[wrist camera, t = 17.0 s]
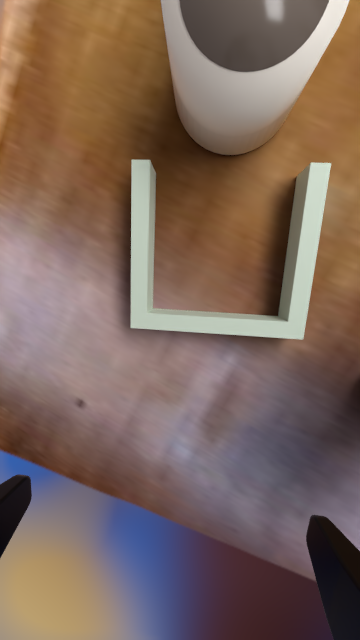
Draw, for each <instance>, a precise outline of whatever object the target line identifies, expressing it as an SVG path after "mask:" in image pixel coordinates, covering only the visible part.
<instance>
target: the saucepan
mask: <svg viewBox="0 0 360 640" xmlns="http://www.w3.org/2000/svg"><path fill="white" fill-rule="evenodd" d="M348 2H349V0H161V5H162V13H163V20H164V27H165V34H166V41H167V48H168V54H169V61H170V68H171V75H172V82H173V88H174V95H175V102H176V107H177V112H178V115H179V118H180V120H181V122H182V124H183V126H184V128H185V130H186V131H187V133H188V134H189V135H190V136H191V138H192V139H193V140H194V141H195V142H197V143H198V144H199V145H200V146H202V147H203V148H205V149H207V150H209V151H212V152H214V153H218V154H223V155H238V154H243V153H246V152H249V151H252V150H254V149H256V148H258V147H260V146H261V145H263V144H264V143H266V142H267V141H268V140H269V139H271V138H272V137H273V136H274V135H275V134H276V132H277V131H278V130H279V129H280V128H281V126H282V125H283V123H284V122H285V120H286V118H287V117H288V115H289V113H290V111H291V110H292V108H293V106H294V104H295V103H296V101H297V99H298V97H299V95H300V94H301V92H302V90H303V88H304V87H305V85H306V83H307V81H308V80H309V78H310V76H311V74H312V73H313V71H314V69H315V67H316V65H317V64H318V62H319V60H320V58H321V57H322V55H323V53H324V51H325V50H326V48H327V46H328V44H329V42H330V41H331V39H332V37H333V35H334V34H335V32H336V30H337V28H338V27H339V25H340V22H341V20H342V18H343V16H344V13H345V11H346V8H347V5H348Z"/></svg>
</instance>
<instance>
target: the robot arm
mask: <svg viewBox="0 0 360 640" xmlns="http://www.w3.org/2000/svg"><path fill="white" fill-rule="evenodd" d="M31 496H32V495H31V480H30V477H29V476H26V475H16V476H13V477H12V478H10V479H9V480H7V481H5V482H4V483H2V484H0V558H1V556H2V554H3V552H4V550H5V549H6V546H7V545H8V543H9V541H10V539H11V537H12V536H13V533H14V532H15V530H16V528H17V526H18V524H19V522H20V521H21V519H22V517H23V515H24V513H25V511H26V510H27V508H28V506H29V504H30V501H31ZM306 541H307V547H308V550H309V554H310V558H311V562H312V566H313V569H314V573H315V577H316V581H317V584H318V588H319V592H320V595H321V600H322V603H323V607H324V611H325V614H326V618H327V621H328V624H329V627H330V629H331V633H332V636H333V639H334V640H360V551H359V550H358V549H357V548H356V547H355V546H354V545H353V544H352V543H351V542H350V541H349V540H348V539H347V538H346V537H345V536H344V534H343V533H342V532H341V531H340V530H339V529H338V528H337V527H336V526H335V525H334V524H333V523H332V522H331V521H330V520H329V519H328V518H327V517H324V516H318V515H312V516H311V518H310V522H309V526H308V530H307V535H306Z"/></svg>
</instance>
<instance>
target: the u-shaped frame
mask: <svg viewBox="0 0 360 640" xmlns="http://www.w3.org/2000/svg"><path fill="white" fill-rule="evenodd" d="M330 167H331V163H310V164H309V165H308V166H307V167H306V168H305V169H304V170H303V171H302V172H301V173H300V174H299V175H298V176H297V179H296V186H295V194H294V201H293V208H292V216H291V223H290V231H289V238H288V246H287V253H286V261H285V268H284V276H283V283H282V291H281V298H280V306H279V313H278V316H269V315H253V314H236V313H220V312H203V311H187V310H171V309H154V308H153V276H154V236H155V197H156V172H155V170H154V168H153V165H152V163H151V161H150V160H132V184H131V328H139V329H154V330H168V331H183V332H198V333H213V334H228V335H243V336H258V337H273V338H288V339H302V340H303V338H304V331H305V325H306V319H307V312H308V306H309V300H310V293H311V287H312V281H313V275H314V268H315V262H316V256H317V249H318V243H319V237H320V230H321V224H322V218H323V212H324V205H325V199H326V193H327V186H328V180H329V174H330Z"/></svg>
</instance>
